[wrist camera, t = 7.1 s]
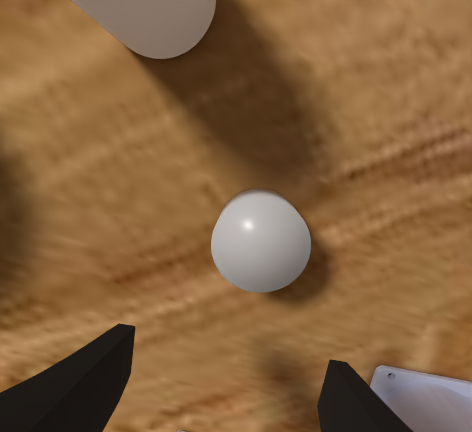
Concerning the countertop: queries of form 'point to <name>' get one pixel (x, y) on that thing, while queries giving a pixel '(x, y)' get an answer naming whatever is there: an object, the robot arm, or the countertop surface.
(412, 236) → the countertop surface
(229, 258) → the grey rounded dome
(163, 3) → the can
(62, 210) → the countertop surface
